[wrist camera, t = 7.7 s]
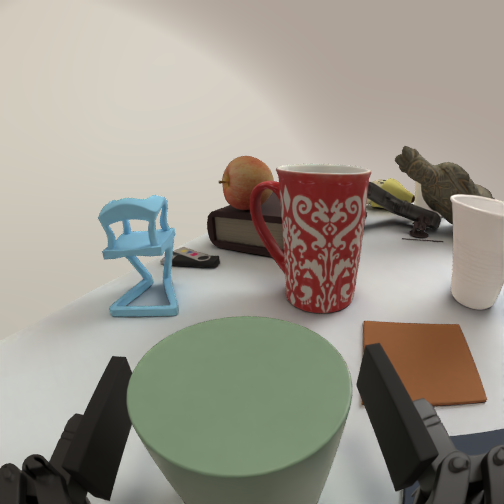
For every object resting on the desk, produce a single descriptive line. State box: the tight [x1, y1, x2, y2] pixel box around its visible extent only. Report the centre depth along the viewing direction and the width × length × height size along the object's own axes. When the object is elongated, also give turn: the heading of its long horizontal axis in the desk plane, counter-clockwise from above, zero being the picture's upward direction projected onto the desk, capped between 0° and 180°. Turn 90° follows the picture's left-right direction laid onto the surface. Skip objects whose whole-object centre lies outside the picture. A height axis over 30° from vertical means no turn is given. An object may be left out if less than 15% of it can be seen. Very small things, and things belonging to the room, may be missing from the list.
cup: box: [450, 195, 504, 310], centre depth 25 cm, size 10×10×11 cm
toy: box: [367, 178, 415, 208], centre depth 65 cm, size 13×7×15 cm
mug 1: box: [250, 164, 371, 313], centre depth 30 cm, size 13×9×14 cm
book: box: [207, 192, 367, 257], centre depth 52 cm, size 28×20×6 cm
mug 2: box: [414, 181, 442, 217], centre depth 59 cm, size 12×9×9 cm
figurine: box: [402, 213, 443, 242], centre depth 46 cm, size 5×8×4 cm
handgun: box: [367, 182, 441, 230], centre depth 49 cm, size 3×19×12 cm
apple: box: [219, 156, 274, 210], centre depth 42 cm, size 8×8×8 cm
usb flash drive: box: [160, 247, 220, 267], centre depth 42 cm, size 9×5×1 cm, turn 76°
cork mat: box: [362, 321, 487, 406], centre depth 20 cm, size 10×10×1 cm
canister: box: [127, 316, 352, 504], centre depth 10 cm, size 6×6×10 cm
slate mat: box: [403, 429, 504, 504], centre depth 7 cm, size 10×10×1 cm
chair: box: [98, 195, 178, 316], centre depth 31 cm, size 8×8×12 cm
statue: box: [395, 146, 494, 224], centre depth 46 cm, size 11×9×30 cm
